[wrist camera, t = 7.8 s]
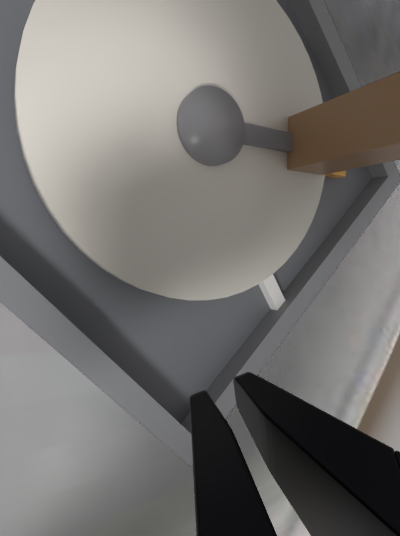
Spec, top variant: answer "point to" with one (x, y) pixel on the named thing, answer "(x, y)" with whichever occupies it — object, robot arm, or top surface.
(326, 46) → the dial board
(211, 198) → the dial
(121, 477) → the top surface
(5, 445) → the top surface
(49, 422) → the top surface
